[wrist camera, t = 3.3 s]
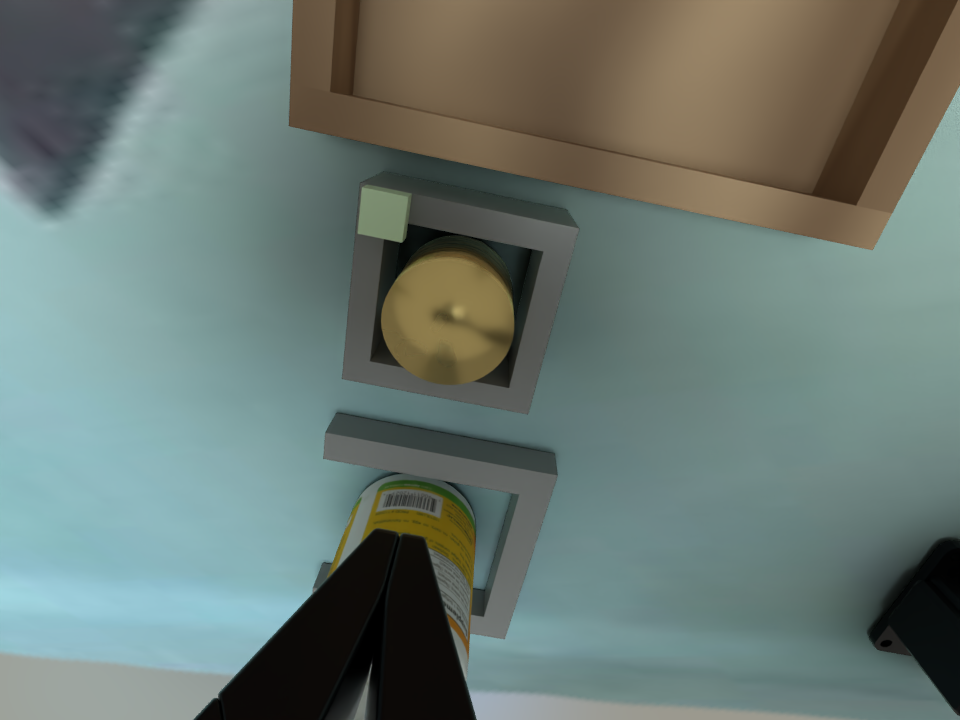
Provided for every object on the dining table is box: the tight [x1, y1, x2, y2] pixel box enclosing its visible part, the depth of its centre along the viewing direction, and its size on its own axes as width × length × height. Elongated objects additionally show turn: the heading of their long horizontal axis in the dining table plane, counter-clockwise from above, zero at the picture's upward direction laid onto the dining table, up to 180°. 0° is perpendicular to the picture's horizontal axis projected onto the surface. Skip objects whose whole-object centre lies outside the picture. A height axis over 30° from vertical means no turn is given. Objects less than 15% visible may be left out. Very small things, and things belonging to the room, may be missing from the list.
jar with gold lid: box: [381, 236, 514, 385], centre depth 15 cm, size 4×4×3 cm
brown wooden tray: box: [289, 0, 960, 250], centre depth 13 cm, size 16×9×3 cm, turn 79°
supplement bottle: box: [327, 474, 476, 720], centre depth 18 cm, size 5×5×10 cm
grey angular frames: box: [313, 171, 579, 639], centre depth 19 cm, size 9×19×4 cm, turn 169°
